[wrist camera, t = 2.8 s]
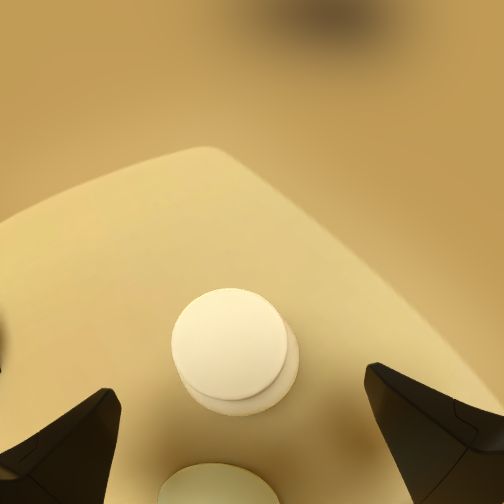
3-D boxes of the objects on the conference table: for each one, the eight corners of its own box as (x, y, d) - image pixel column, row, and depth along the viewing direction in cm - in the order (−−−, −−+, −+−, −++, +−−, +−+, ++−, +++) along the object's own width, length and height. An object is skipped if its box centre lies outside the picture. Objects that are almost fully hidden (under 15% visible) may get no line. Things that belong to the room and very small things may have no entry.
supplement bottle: (263, 320, 19) (263, 246, 11) (302, 387, 16) (343, 372, 8) (193, 354, 18) (132, 306, 9) (228, 424, 15) (192, 447, 7)
